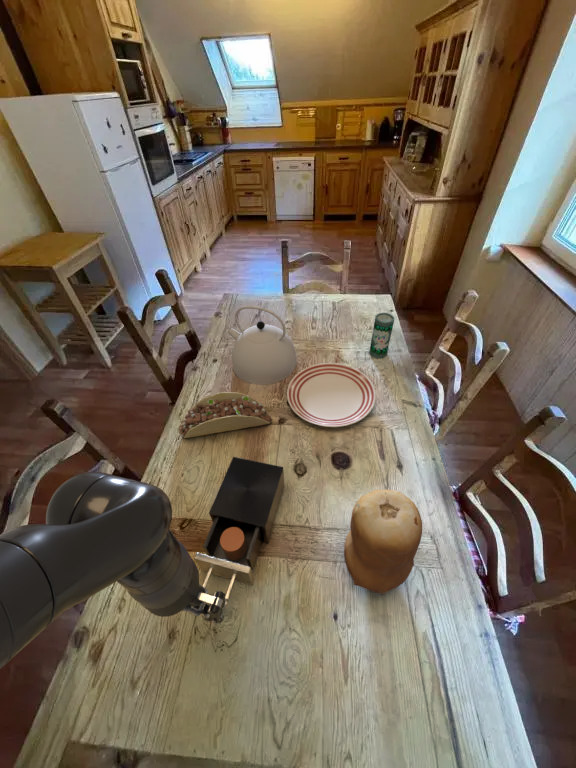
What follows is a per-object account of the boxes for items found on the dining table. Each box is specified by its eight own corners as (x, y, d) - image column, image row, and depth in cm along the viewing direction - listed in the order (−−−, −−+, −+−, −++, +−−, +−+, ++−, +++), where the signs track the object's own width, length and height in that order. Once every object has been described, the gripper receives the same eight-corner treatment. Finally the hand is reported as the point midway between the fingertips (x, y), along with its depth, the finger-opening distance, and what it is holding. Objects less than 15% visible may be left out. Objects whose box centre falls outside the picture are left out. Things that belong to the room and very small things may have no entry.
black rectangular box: (268, 544, 77) (265, 527, 70) (216, 530, 79) (208, 513, 73) (284, 486, 87) (283, 466, 80) (238, 476, 89) (233, 456, 83)
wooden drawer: (242, 618, 66) (237, 609, 61) (189, 602, 68) (180, 591, 63) (271, 522, 79) (268, 507, 74) (225, 511, 81) (220, 496, 76)
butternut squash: (359, 521, 80) (374, 462, 62) (415, 555, 74) (449, 501, 56) (329, 575, 72) (337, 524, 54) (389, 618, 66) (420, 577, 48)
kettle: (215, 373, 118) (201, 318, 102) (245, 336, 133) (237, 283, 117) (281, 391, 111) (277, 335, 95) (305, 350, 126) (305, 295, 110)
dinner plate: (299, 441, 96) (299, 434, 94) (279, 377, 116) (278, 370, 113) (389, 422, 100) (391, 415, 98) (355, 363, 120) (356, 356, 117)
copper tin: (250, 553, 73) (247, 544, 70) (228, 564, 72) (224, 555, 68) (242, 532, 77) (239, 522, 73) (220, 542, 75) (216, 533, 72)
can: (368, 357, 122) (375, 321, 111) (369, 346, 126) (375, 311, 116) (386, 359, 121) (394, 323, 110) (386, 348, 125) (394, 313, 114)
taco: (274, 432, 99) (271, 408, 92) (179, 448, 96) (170, 426, 89) (268, 407, 106) (266, 384, 99) (180, 422, 103) (171, 399, 96)
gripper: (94, 590, 42) (140, 622, 54) (201, 625, 39) (225, 650, 51) (129, 531, 47) (163, 571, 59) (226, 557, 44) (242, 594, 56)
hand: (192, 607), depth 55 cm, fingers open, 6 cm apart
